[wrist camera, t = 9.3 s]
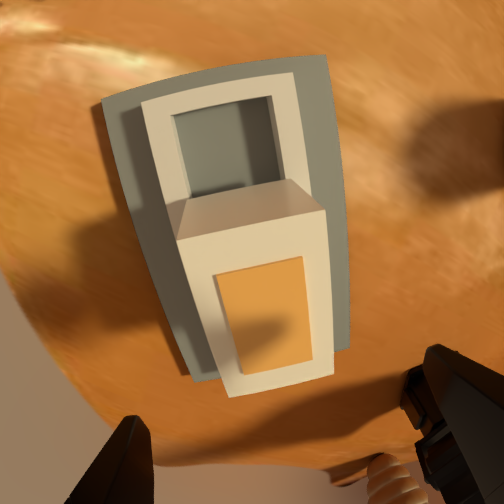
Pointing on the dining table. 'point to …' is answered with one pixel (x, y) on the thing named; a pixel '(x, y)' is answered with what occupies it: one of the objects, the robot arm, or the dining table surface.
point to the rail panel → (227, 168)
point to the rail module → (261, 284)
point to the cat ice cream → (392, 483)
